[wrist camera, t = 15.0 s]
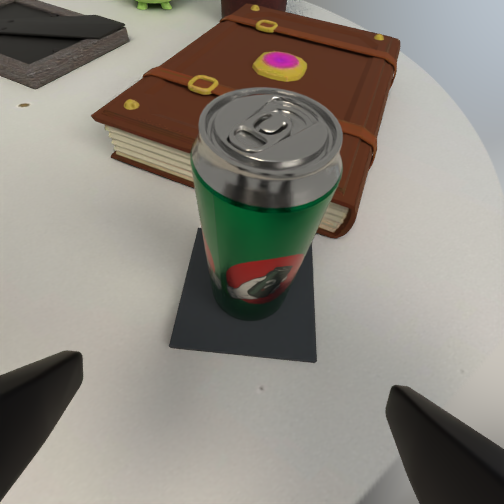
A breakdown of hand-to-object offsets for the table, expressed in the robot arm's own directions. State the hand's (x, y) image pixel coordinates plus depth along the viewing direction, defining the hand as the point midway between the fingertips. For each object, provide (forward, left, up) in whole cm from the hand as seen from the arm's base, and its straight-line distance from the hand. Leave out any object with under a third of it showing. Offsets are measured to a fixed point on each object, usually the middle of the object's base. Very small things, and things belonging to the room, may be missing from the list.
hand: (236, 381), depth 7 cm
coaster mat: (+2, -6, -9) cm, 11 cm away
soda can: (+2, -6, -8) cm, 11 cm away
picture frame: (+46, -24, -9) cm, 53 cm away
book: (+10, -28, -9) cm, 31 cm away
